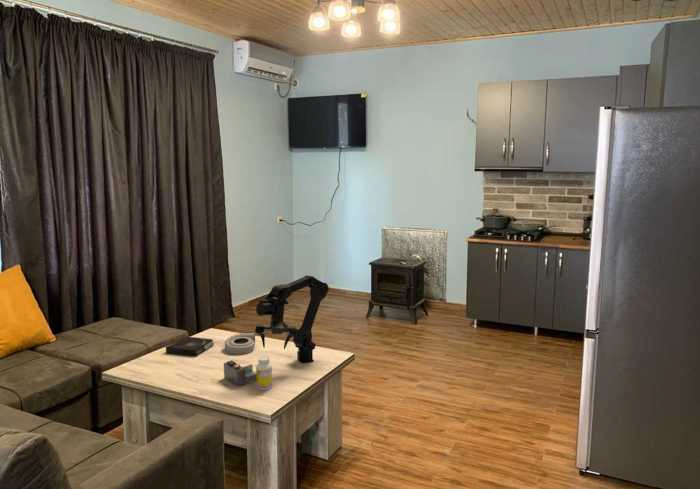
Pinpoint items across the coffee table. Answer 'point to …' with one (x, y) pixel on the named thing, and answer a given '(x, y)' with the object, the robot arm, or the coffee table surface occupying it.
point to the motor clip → (238, 373)
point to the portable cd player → (189, 346)
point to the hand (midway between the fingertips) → (274, 348)
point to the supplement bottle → (264, 373)
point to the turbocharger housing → (240, 343)
